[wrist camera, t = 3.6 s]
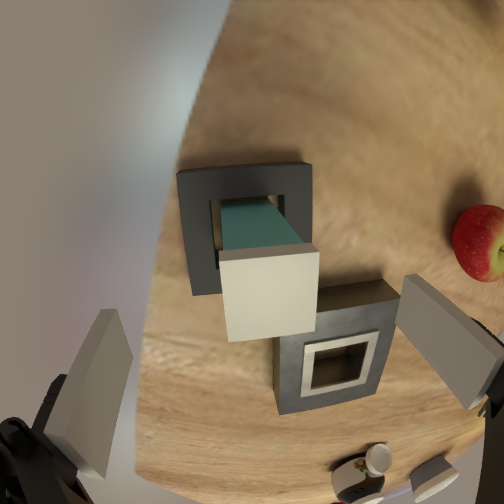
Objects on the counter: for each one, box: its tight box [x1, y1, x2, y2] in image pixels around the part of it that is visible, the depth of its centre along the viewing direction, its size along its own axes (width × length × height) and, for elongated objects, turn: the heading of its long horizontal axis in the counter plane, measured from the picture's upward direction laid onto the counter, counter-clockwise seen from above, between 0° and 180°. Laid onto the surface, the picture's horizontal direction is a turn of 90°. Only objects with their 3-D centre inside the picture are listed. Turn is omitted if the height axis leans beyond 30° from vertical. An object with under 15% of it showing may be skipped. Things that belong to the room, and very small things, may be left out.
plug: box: [219, 199, 320, 342], centre depth 19 cm, size 4×4×12 cm
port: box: [273, 279, 401, 415], centre depth 29 cm, size 14×12×4 cm
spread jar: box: [331, 443, 392, 504], centre depth 40 cm, size 12×11×12 cm
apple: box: [452, 205, 504, 282], centre depth 23 cm, size 8×8×10 cm
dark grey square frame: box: [176, 162, 312, 296], centre depth 23 cm, size 10×10×2 cm
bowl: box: [410, 455, 459, 503], centre depth 56 cm, size 15×15×11 cm
